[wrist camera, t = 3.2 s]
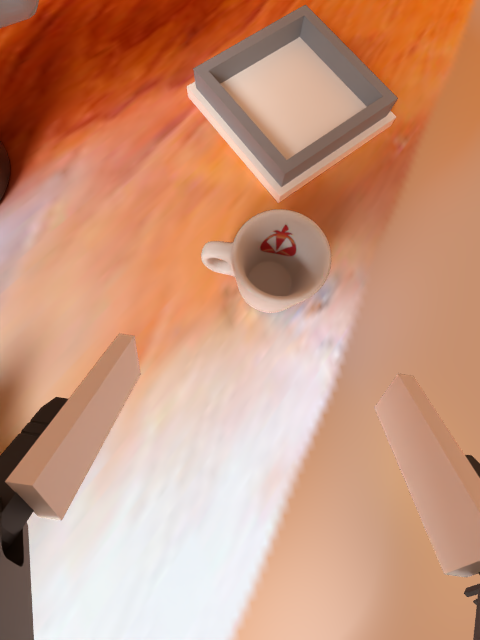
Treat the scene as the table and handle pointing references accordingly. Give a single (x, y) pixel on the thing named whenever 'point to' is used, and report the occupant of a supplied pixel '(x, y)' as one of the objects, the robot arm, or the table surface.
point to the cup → (273, 259)
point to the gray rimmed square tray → (291, 101)
